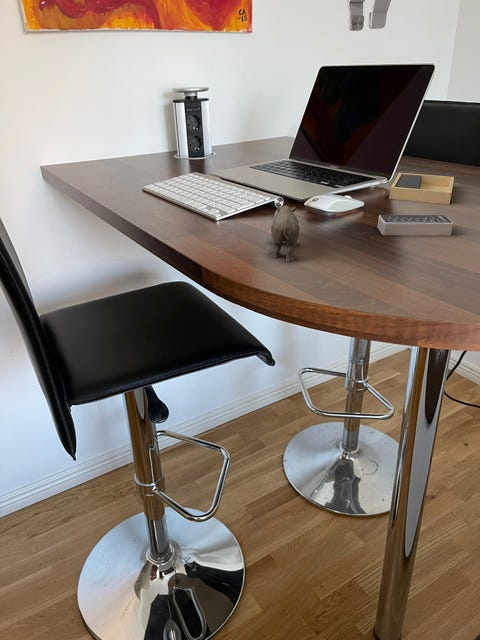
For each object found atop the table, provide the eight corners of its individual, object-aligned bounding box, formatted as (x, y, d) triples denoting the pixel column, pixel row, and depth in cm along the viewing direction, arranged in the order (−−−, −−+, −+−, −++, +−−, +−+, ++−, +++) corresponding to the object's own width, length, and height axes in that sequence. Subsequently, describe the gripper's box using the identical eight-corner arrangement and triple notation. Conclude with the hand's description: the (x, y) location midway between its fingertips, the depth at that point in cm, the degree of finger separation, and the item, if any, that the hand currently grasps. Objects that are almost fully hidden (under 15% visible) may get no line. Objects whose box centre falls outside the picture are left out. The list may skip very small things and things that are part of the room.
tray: (397, 184, 110) (399, 172, 109) (451, 188, 106) (454, 176, 105) (388, 199, 99) (390, 187, 97) (449, 205, 95) (451, 192, 94)
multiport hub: (376, 227, 84) (378, 214, 82) (442, 228, 83) (445, 214, 82) (382, 236, 80) (384, 222, 79) (451, 237, 79) (454, 223, 78)
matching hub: (401, 183, 108) (402, 174, 107) (420, 185, 107) (422, 175, 106) (394, 196, 99) (396, 186, 98) (415, 198, 98) (417, 187, 97)
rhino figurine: (297, 232, 82) (299, 195, 79) (298, 264, 70) (301, 222, 67) (272, 231, 82) (273, 195, 79) (269, 263, 70) (270, 222, 67)
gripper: (440, -129, 51) (418, 27, 58) (377, -84, 69) (366, 31, 76) (380, -130, 51) (365, 27, 58) (333, -84, 69) (325, 31, 76)
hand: (365, 29), depth 67 cm, fingers open, 8 cm apart
